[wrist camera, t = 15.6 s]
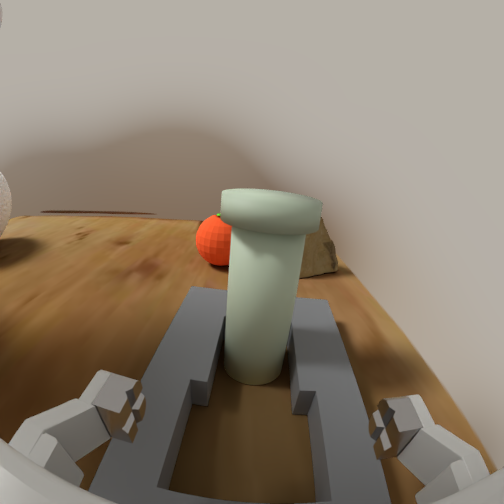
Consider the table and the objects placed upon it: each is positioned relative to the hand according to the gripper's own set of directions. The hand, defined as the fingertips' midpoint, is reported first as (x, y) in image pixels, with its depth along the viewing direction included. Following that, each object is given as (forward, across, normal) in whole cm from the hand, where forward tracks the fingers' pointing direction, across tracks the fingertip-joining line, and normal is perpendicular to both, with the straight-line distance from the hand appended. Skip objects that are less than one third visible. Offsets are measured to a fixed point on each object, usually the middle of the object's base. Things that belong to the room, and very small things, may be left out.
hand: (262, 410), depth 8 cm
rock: (+30, -6, +7) cm, 32 cm away
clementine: (+30, +6, +7) cm, 32 cm away
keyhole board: (+6, 0, +7) cm, 10 cm away
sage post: (+10, 0, +7) cm, 12 cm away
